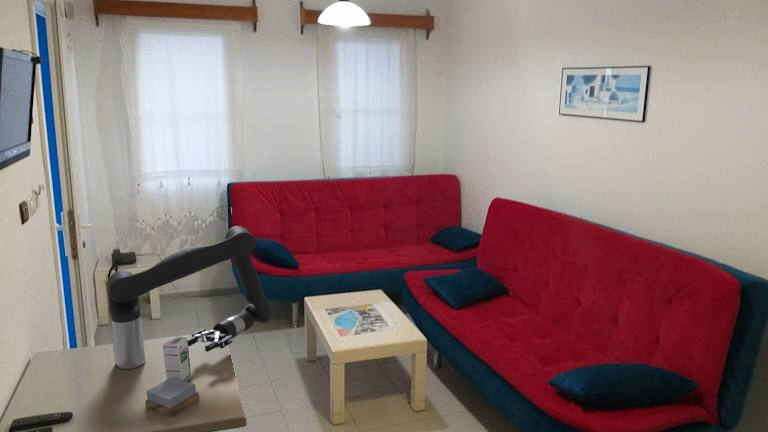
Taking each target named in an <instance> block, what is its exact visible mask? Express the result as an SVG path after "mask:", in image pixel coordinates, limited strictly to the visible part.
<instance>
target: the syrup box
mask: <svg viewBox="0 0 768 432" xmlns="http://www.w3.org/2000/svg"><path fill="white" fill-rule="evenodd" d="M187 340H188V338H187V337H183V336H171V338H169V339H168V340H167V341H165V342H164V343H162V351H163V360H164V369H165V377H166V379H165V380H168V379H170V378H172V377H175V378H178V379H181V380H183V381H186V382H188V380H190V379H191V378H192V372H191V364H190V354H189V353H190V352H189V346H188V342H187Z"/></svg>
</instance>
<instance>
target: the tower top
mask: <svg viewBox="0 0 768 432" xmlns="http://www.w3.org/2000/svg"><path fill="white" fill-rule="evenodd" d="M196 387H197V386H196V384H195V383H191V382H188V381H183V380H181V379H178V378H175V377H172V378H170V379H168V380H167V379H165V380H164V381H163V382H160V383H158V384H157V385H155V386H153V387H152V388H150V389H147V390H146V395H147V396H146V400H149V401H152V402H154V403H157V404H159V405H162V406H165V407H167V408H170V409H171V408H172V407H174V406H176V405H177V404H179V403H181V402H182V401H184V400H186V399H188V398H189V397H191V396H193V395H194V394H196V392H197V389H196Z"/></svg>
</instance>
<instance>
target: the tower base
mask: <svg viewBox="0 0 768 432" xmlns="http://www.w3.org/2000/svg"><path fill="white" fill-rule="evenodd" d="M144 401H145V403H144V404H145V408H146V409H148V410H151V411H153V412H156V413H159V414H161V415H164V416H168V417H170V418H173V417H174V416H176V415H178V414H180V413H181V412H183V411H184V410H186V409H187V408H189V407H190V406H192V405H193V404H195V403H196V402H198V401H200V392H198V391H196V394H194V395H193V396H191V397H189V398H188V399H186V400H184V401H182V402H181V403H179V404H177V405H176V406H174V407H172V408H171V409H170V408H167V407H165V406H162V405H159V404H157V403H154V402H152V401H149V400H147V399H146V400H144Z"/></svg>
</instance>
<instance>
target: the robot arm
mask: <svg viewBox="0 0 768 432" xmlns="http://www.w3.org/2000/svg"><path fill="white" fill-rule="evenodd" d="M255 247H256V239H255V236H254V235H253V234H252V233H251V232H250V231H249V230H247V228H245V227H243V226H241V225H235V226H232V227H231V228H229V229H228V230H227V232H226V233H225V238H224V240H222V241H219V242H217V243H214V244H207V245H199V246H197V245H196V246H191V247H187V248H184V249H181V250H179V251H177V252H174V253H172V254H170V255H168V256H166V257H164V258H162V259H161V260H160V261H159V262H158V263H156V264H155V265H153V266H151V267H150V268H148V269H146V270H143V271H140V272H136V273H134V274H133V273H132V272H130V271H127V270H118V271H115V272H114V273H112V274H111V275H110V276H109V278H108V280H107V287H106V288H107V293H108V294H107V295H108V303H109V310H110V317H111V323H112V324H111V325H112V333H113V337H112V345H113V346H112V347H113V354H114V364H115V365H116V367H118V368H119V369H123V370H132V369H134V368H139V367H141V366H142V365H144V364H145V362H146V351H145V343H144V333H143V324H142V315H141V307H140V302H139V297H141V296H143V295H145V294H148V293H149V292H151V291H153V290H155V289H157V288H159V287H163V286H165V285H167V284H171V283H173V282H175V281H178V280H182V279H184V278H187V277H189V276H191V275H194V274H196V273H199V272H201V271H203V270H205V269H208V268H211V267H213V266H215V265H218V264H220V263H222V262H225V261H229V260H232V259H233V261H234V264H235V266H236V269H237V270H236V271H237V273H238V276H239V281H240V284H241V288H242V292H243V295H244V300H245V301H246V302H248V303H249V304H247V305H246V306H245V307H244V308H243V309H242V310H241V311H240V312H238V313H236V314H234V315H231V316H229V317H227V318H225V319H223V320H221V321H220V322H217V323H216V324H215V325H213V328H212V329H209V330H206V328H205V327H203V328H201V329H198V330H196V331H194V332H192V333H191V338H187V342H188V347H191V346H193V345H195V344H197V343H200V342H201V343H207V344H206V345H205V346H204V351H205V352H206V353H208V352H211V351H212V350H214V349H224V348H226V347H228V346H229V345H230V344H232V343H233V339H234V338H236V337H238V336H240V335H241V334H243V333H244V332H246V331H248V330H250V328H252V327H253V326H254V323H261V324H266V323H268V322H270V321H271V320H272V316H273V308H272V307H271V304H270V302H269V300H268V299H267V297H266V295H265V293H264V292H263V291H264V290H263V287H262V284H261V280H260V277H259V274H258V273H257V270H256V267H255V265H254V263H253V260H252V257H251V254H250V253H251V252H252V251H253V250H254V248H255ZM208 342H209V343H208Z"/></svg>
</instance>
